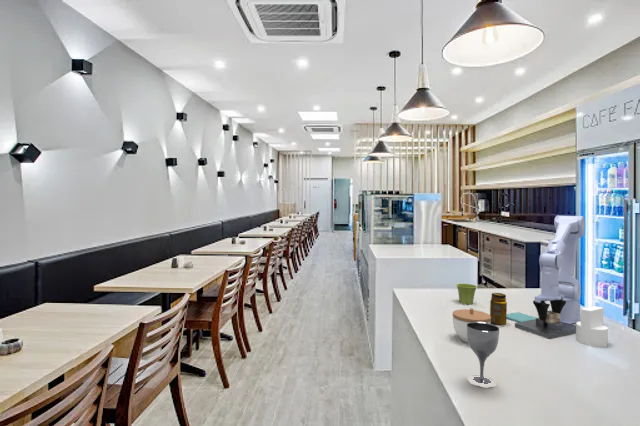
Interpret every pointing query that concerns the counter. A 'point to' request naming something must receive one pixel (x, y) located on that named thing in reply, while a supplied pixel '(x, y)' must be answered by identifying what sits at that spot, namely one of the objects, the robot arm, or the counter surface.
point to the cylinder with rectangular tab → (592, 328)
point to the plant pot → (466, 293)
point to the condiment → (498, 309)
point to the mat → (520, 317)
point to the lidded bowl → (467, 320)
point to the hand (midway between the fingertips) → (549, 319)
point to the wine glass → (482, 343)
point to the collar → (552, 317)
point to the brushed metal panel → (547, 328)
